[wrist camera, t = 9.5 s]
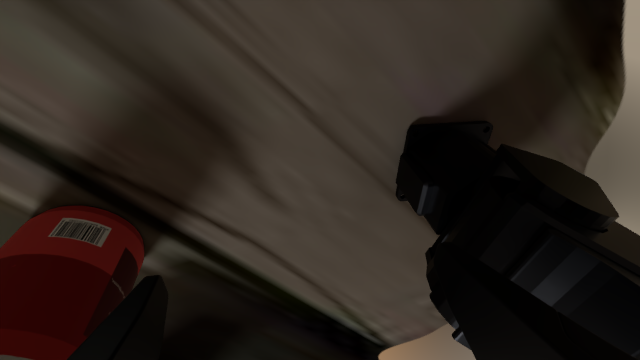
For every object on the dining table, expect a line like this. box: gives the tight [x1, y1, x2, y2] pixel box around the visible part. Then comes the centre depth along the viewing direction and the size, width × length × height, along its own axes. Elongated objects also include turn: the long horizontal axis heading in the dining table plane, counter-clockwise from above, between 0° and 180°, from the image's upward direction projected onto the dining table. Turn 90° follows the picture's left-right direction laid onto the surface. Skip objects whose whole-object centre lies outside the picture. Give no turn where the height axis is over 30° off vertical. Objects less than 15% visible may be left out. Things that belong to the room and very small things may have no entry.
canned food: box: [0, 206, 144, 360], centre depth 19 cm, size 8×8×11 cm
